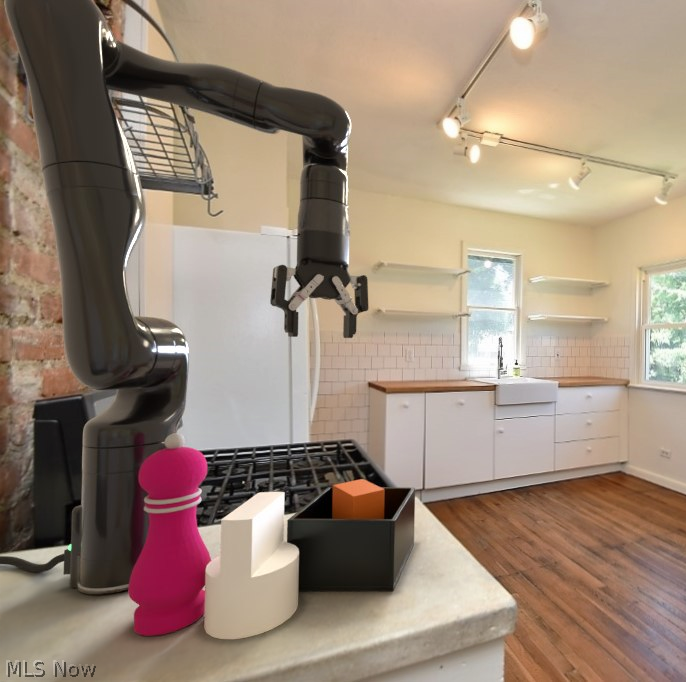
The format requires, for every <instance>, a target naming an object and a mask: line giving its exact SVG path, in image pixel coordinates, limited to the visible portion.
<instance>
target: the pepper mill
mask: <svg viewBox="0 0 686 682" xmlns="http://www.w3.org/2000/svg"><path fill="white" fill-rule="evenodd" d="M185 443H186V439H185V437H184V435H183V434H181V433H179V432H177V433H173V434H171V435H169V436H168V437H167V438H166V439H165V446H166V447H167V448H166V449H163V450H160V451H157V452H155V453H153V454H152V455H151V456H149V457H148V458H147V459H146V460H145V461H144V462H143V464H142V465H141V468H140V470H139V476H138V478H139V484H140V486H141V487H142V488H143V489H144V490H145V491H146V492H147V493H148V494H149V495H148V496H146V497H145V498H144V502H145V507H144V510H145V511H146V512H148V513H149V530H148V536H147V539H146V542H145V545H144V547H143V549H142V552H141V554H140V556H139V558H138V560H137V562H136V564H135V566H134V568H133V571H132V574H131V577H130V581H129V589H128V590H127V593H128V596H129V598H130V600H131V601H133V602H134V603H135V604H137V605H138V606H137V608H135V610H134V612H133V631H134V632H135V633H136V634H137V635H139V636H148V637H153V636H161V635H166V634H170V633H173V632H177V631H178V630H181V629H184V628H186V627H188V626H190V625H192V624H193V623H195V622H196V621H198V620H199V619H200V618H201V617H203V616H204V613H205V589H204V588H205V572H206V567H207V565H208V564H209V562H210V561H211V560H212V559H211V555H210V552H209V550H208V548H207V545H206V544H205V542H204V540H203V538H202V536H201V533H200V530H199V528H198V521H197V509H198V505H199V504H200V503H201V502H202V497H201V494H202V491H203V490H202V489H201V488H200V487H199V485H201V483H202V482H204V480H205V479H206V477H207V474H208V462H207V459H206V457H205V455H204V454H203V452H201V451H199V450H198V449H196V448H193V447H189V446H184V445H185Z"/></svg>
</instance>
